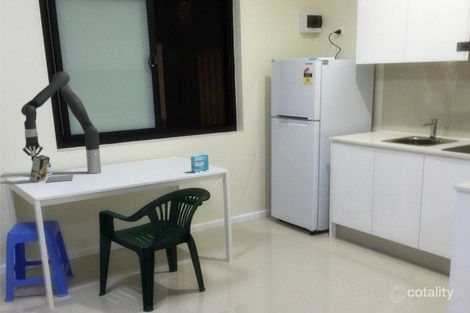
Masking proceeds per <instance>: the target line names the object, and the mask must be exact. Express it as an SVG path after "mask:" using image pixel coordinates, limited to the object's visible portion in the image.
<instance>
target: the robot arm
mask: <svg viewBox="0 0 470 313" xmlns="http://www.w3.org/2000/svg"><path fill="white" fill-rule="evenodd" d="M70 79H71V78H70V75H69V73H68V72H66V71H63V70H62V71H57V72H56V73H54V74H53V76H52V81H51V82H50V83H49V84H47V86H45V87H44V88H42V90H41V91H39V92H38V93H37V94H36V95H35V96H34V97H33V98H32V99H31V100H29V101H28V102H27V103H25V104H23V105H22V107H21V110H20V112H21V114H22V115H23V116H24V117H25V120H24V122H23V126H24V138H25V145H24V147H23V148H22V151H23V152H24V153H25V154H26V155H27V156H28V157H31V159H30V160H31V162H32V161H33V159H34V157H36V156H39V155H40V153H41V152H42V151H43V149H44V147H43V146H41V145H40V144H39V135H38V130H37V114H38V113H37V109H38V108H41V107H42V106H43V105H44V104H45V103H46V102H48V101H49V99H50V98H51V97H52V96H53V95H55V93H56V92H57V91H59V92H60V93H61V95H62V97H63V99H64V101H65V102H66V105H67V107H68V108H69V110H70V112H71V113H72V115H73V117H75V119H76V120H77V121H78V123H79V125H80V126H81V128H82V131H83V133H84V141H85V153H86V166H87V167H86V168H87V174H90V175H91V174H92V175H93V174H100V173H102V164H101V155H100V154H101V152H100V136H99V134H100V133H99V130H98V129H97V128H96V126H95V125H94V124H93V122H92V121H91V119H90V117H89V114H88V112H87V110H86V108H85V106H84V103H83V101H82V100H81V98H80V97H79V96H78V95H77V94H75V92H74V91H73V90H72V89H71V87H70V85H69V81H70ZM37 150H38V151H37Z"/></svg>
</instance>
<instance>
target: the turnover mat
mask: <svg viewBox="0 0 470 313" xmlns="http://www.w3.org/2000/svg"><path fill="white" fill-rule="evenodd" d="M73 178H74V174H67V175H54V176H52V175H51V176H47V178H46V180H45V183H46V184H47V183H48V184H49V183H57V182H58V183H59V182H60V183H61V182H72V180H73Z"/></svg>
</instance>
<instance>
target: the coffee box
mask: <svg viewBox="0 0 470 313" xmlns="http://www.w3.org/2000/svg"><path fill="white" fill-rule="evenodd" d="M50 159H51V158H50V156H47V155H45V154H44V155H43V154H39V155H36V157H34V159H33V162H32V165H31V168H30V169H31V171H30V175H29V181H33V182H36V183H39V182H42V181H46V180H47V177H48V176H47V170H48V165H49V160H50Z"/></svg>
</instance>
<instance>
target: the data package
mask: <svg viewBox="0 0 470 313" xmlns="http://www.w3.org/2000/svg"><path fill="white" fill-rule="evenodd" d="M209 163H210V162H209V155H208V154H205V153H201V154H195V155H194V154H192V155H191V156H190V165H191V167H190V168H191V172H192V171H193V173H195V172H198V173H201V172H200V171H204V172H207V171H206V170H208V171H209V170H210V168H209Z"/></svg>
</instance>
